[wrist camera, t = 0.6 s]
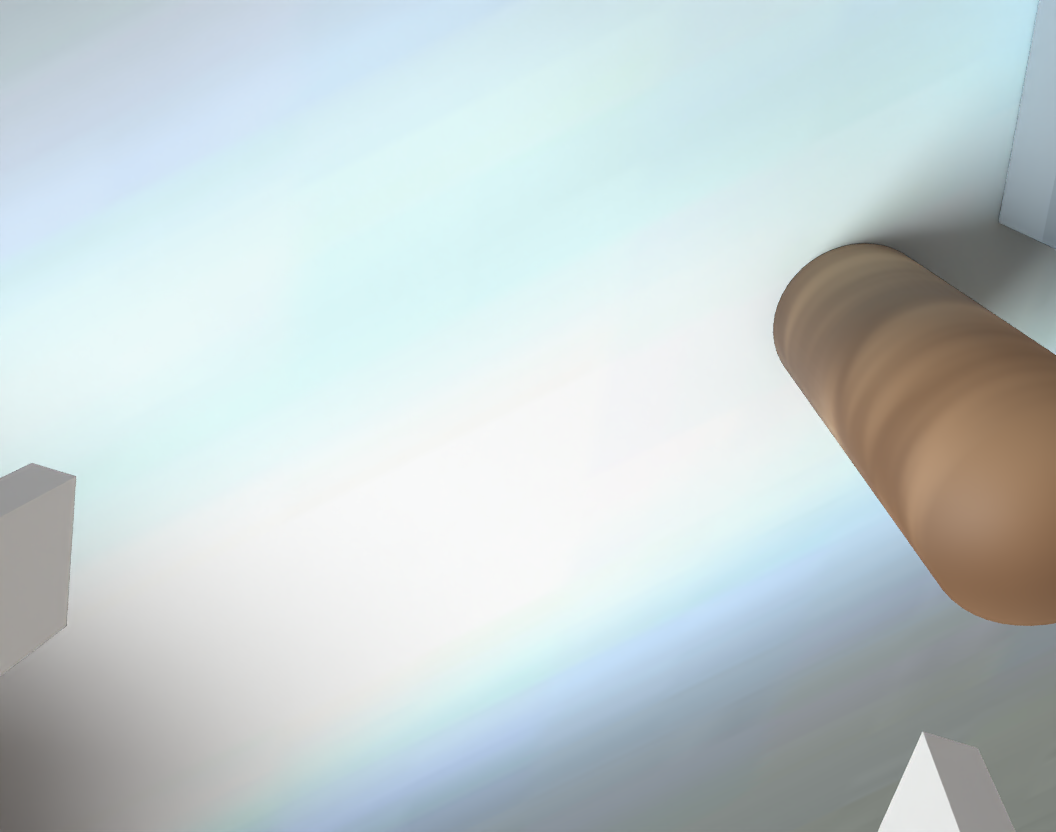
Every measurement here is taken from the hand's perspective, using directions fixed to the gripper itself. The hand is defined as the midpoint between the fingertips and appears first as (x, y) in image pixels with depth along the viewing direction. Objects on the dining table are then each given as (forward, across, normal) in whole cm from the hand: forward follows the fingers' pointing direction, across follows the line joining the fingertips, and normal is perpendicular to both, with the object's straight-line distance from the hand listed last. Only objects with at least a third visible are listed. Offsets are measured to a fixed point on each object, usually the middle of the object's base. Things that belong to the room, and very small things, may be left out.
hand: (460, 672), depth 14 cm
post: (+18, +7, +4) cm, 20 cm away
